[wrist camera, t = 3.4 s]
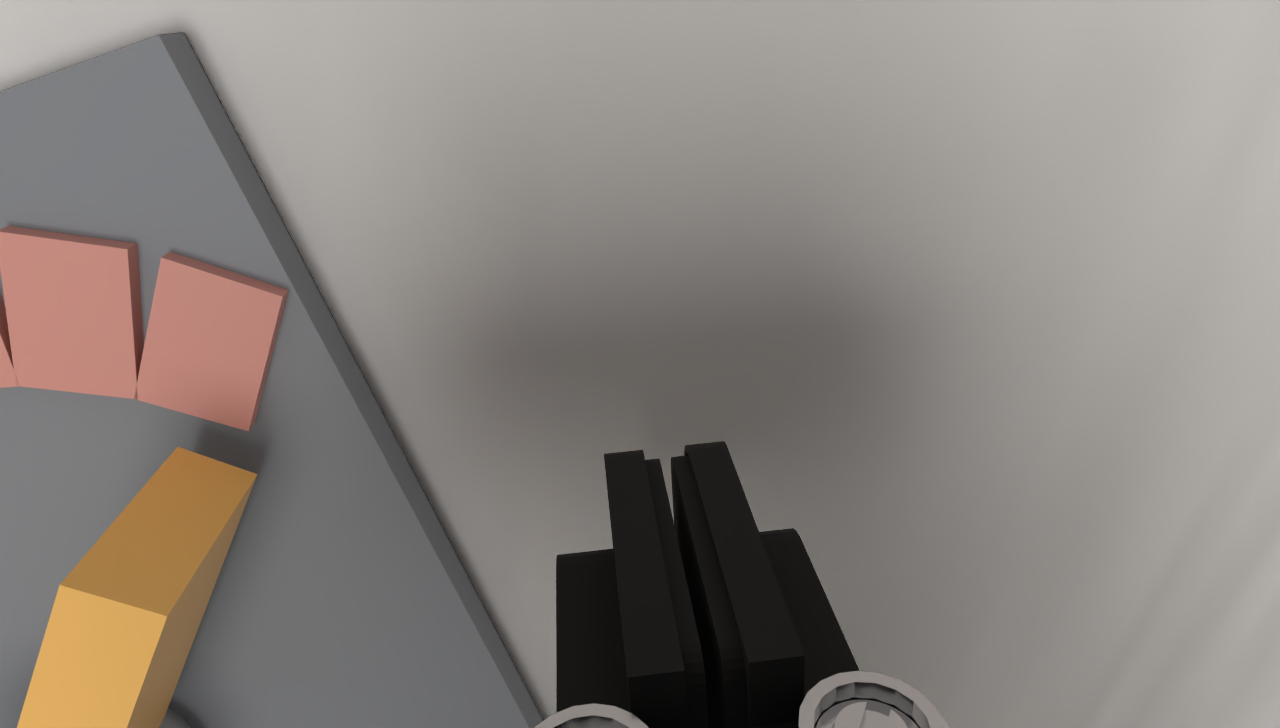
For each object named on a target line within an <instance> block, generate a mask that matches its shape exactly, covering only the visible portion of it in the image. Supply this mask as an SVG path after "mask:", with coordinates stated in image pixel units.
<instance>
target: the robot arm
mask: <svg viewBox="0 0 1280 728" xmlns="http://www.w3.org/2000/svg"><path fill="white" fill-rule="evenodd" d="M604 459H605V469H606V479H607V489H608V499H609V509H610V519H611V530H612V540H613V549H607V550H598V551H589V552H580V553H571V554H562V555H557V561H556V626H557V713H554V714H552V715H551V716H549V717H548V718H547V719H545V720H544V721H543V722H541V723H540V724H538V725H537V726H536V727H534V728H951V727H950V726H949V724H948V723H947V722H946V720H945V719H944V718H943V716H942V715H941V713H940V712H939V711H938V709H937V708H936V707H935V706H934V705H933V704H932V703H931V702H930V701H929V700H928V699H927V698H926V697H925V696H924V695H923V694H922V693H921V692H919V691H918V690H916V689H915V688H913V687H912V686H910V685H908V684H907V683H905V682H904V681H901V680H899V679H896V678H893V677H890V676H887V675H885V674H882V673H874V672H866V671H859V669H858V666H857V664H856V662H855V660H854V657H853V655H852V653H851V651H850V648H849V646H848V644H847V642H846V639H845V637H844V635H843V633H842V630H841V628H840V626H839V624H838V621H837V619H836V617H835V615H834V612H833V610H832V608H831V606H830V603H829V601H828V599H827V597H826V594H825V592H824V590H823V588H822V585H821V583H820V581H819V579H818V576H817V574H816V572H815V570H814V567H813V565H812V563H811V561H810V558H809V556H808V554H807V552H806V549H805V547H804V545H803V543H802V540H801V538H800V536H799V535H798V533H797V531H796V530H794V529H793V528H792V529H783V530H774V531H766V532H759V531H758V529H757V526H756V523H755V520H754V518H753V515H752V512H751V510H750V507H749V504H748V502H747V499H746V496H745V494H744V491H743V488H742V486H741V483H740V480H739V478H738V475H737V472H736V470H735V467H734V464H733V461H732V459H731V456H730V453H729V451H728V448H727V445H726V443H725V442H724V441H722V442H713V443H703V444H694V445H685V451H684V456H679V457H671V475H672V493H673V510H674V522H673V518H672V513H671V509H670V504H669V500H668V495H667V491H666V486H665V482H664V477H663V473H662V468H661V463H660V460H659V459H651V460H645V458H644V453H643V450H637V451H628V452H618V453H609V454H604Z"/></svg>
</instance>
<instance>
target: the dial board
mask: <svg viewBox="0 0 1280 728" xmlns="http://www.w3.org/2000/svg"><path fill="white" fill-rule="evenodd" d="M177 447H180V448H183V449H186V450H189V451H192V452H194V453H197V454H200V455H203V456H206V457H209V458H212V459H215V460H218V461H221V462H224V463H226V464H229V465H232V466H235V467H238V468H241V469H244V470H247V471H250V472H253V473H255V474H257V477H256V479H255V482H254V485H253V487H252V490H251V492H250V495H249V498H248V500H247V503H246V505H245V508H244V511H243V513H242V516H241V518H240V521H239V524H238V526H237V529H236V531H235V534H234V537H233V539H232V542H231V545H230V547H229V550H228V552H227V555H226V558H225V560H224V563H223V565H222V568H221V571H220V573H219V576H218V578H217V581H216V584H215V586H214V589H213V591H212V594H211V597H210V599H209V602H208V605H207V607H206V610H205V612H204V615H203V618H202V620H201V623H200V625H199V628H198V631H197V633H196V636H195V638H194V641H193V644H192V646H191V649H190V651H189V654H188V657H187V659H186V662H185V665H184V667H183V670H182V672H181V675H180V678H179V680H178V683H177V685H176V688H175V691H174V693H173V696H172V698H171V701H170V704H169V706H168V709H167V711H166V714H165V717H164V719H163V721H162V722H161V724H160V726H159V728H534V727H536V726H537V725H538V724H540V723H541V722H543V720H542V718H541V716H540V714H539V712H538V710H537V708H536V706H535V704H534V702H533V700H532V698H531V697H530V695H529V693H528V691H527V689H526V687H525V685H524V683H523V681H522V679H521V677H520V675H519V674H518V672H517V670H516V668H515V666H514V664H513V662H512V660H511V658H510V656H509V654H508V653H507V651H506V649H505V647H504V645H503V643H502V641H501V639H500V637H499V635H498V633H497V631H496V630H495V628H494V626H493V624H492V622H491V620H490V618H489V616H488V614H487V612H486V610H485V608H484V607H483V605H482V603H481V601H480V599H479V597H478V595H477V593H476V591H475V589H474V587H473V585H472V584H471V582H470V580H469V578H468V576H467V574H466V572H465V570H464V568H463V566H462V564H461V562H460V561H459V559H458V557H457V555H456V553H455V551H454V549H453V547H452V545H451V543H450V541H449V540H448V538H447V536H446V534H445V532H444V530H443V528H442V526H441V524H440V522H439V520H438V518H437V517H436V515H435V513H434V511H433V509H432V507H431V505H430V503H429V501H428V499H427V497H426V495H425V494H424V492H423V490H422V488H421V486H420V484H419V482H418V480H417V478H416V476H415V474H414V472H413V471H412V469H411V467H410V465H409V463H408V461H407V459H406V457H405V455H404V453H403V451H402V450H401V448H400V446H399V444H398V442H397V440H396V438H395V436H394V434H393V432H392V430H391V428H390V427H389V425H388V423H387V421H386V419H385V417H384V415H383V413H382V411H381V409H380V407H379V405H378V404H377V402H376V400H375V398H374V396H373V394H372V392H371V390H370V388H369V386H368V384H367V382H366V381H365V379H364V377H363V375H362V373H361V371H360V369H359V367H358V365H357V363H356V361H355V359H354V358H353V356H352V354H351V352H350V350H349V348H348V346H347V344H346V342H345V340H344V338H343V337H342V335H341V333H340V331H339V329H338V327H337V325H336V323H335V321H334V319H333V317H332V315H331V314H330V312H329V310H328V308H327V306H326V304H325V302H324V300H323V298H322V296H321V294H320V292H319V291H318V289H317V287H316V285H315V283H314V281H313V279H312V277H311V275H310V273H309V271H308V269H307V268H306V266H305V264H304V262H303V260H302V258H301V256H300V254H299V252H298V250H297V248H296V247H295V245H294V243H293V241H292V239H291V237H290V235H289V233H288V231H287V229H286V227H285V225H284V224H283V222H282V220H281V218H280V216H279V214H278V212H277V210H276V208H275V206H274V204H273V202H272V201H271V199H270V197H269V195H268V193H267V191H266V189H265V187H264V185H263V183H262V181H261V179H260V178H259V176H258V174H257V172H256V170H255V168H254V166H253V164H252V162H251V160H250V158H249V156H248V155H247V153H246V151H245V149H244V147H243V145H242V143H241V141H240V139H239V137H238V135H237V134H236V132H235V130H234V128H233V126H232V124H231V122H230V120H229V118H228V116H227V114H226V112H225V111H224V109H223V107H222V105H221V103H220V101H219V99H218V97H217V95H216V93H215V91H214V89H213V88H212V86H211V84H210V82H209V80H208V78H207V76H206V74H205V72H204V70H203V68H202V66H201V65H200V63H199V61H198V59H197V57H196V55H195V53H194V51H193V49H192V47H191V45H190V43H189V42H188V40H187V38H186V36H185V34H184V33H173V34H161V35H156V36H153V37H151V38H148V39H145V40H142V41H140V42H137V43H134V44H131V45H128V46H126V47H123V48H120V49H117V50H115V51H112V52H109V53H106V54H103V55H101V56H98V57H95V58H92V59H89V60H87V61H84V62H81V63H78V64H76V65H73V66H70V67H67V68H64V69H62V70H59V71H56V72H53V73H51V74H48V75H45V76H42V77H39V78H37V79H34V80H31V81H28V82H26V83H23V84H20V85H17V86H14V87H12V88H9V89H6V90H3V91H1V92H0V728H17V725H18V722H19V719H20V715H21V712H22V709H23V705H24V702H25V699H26V695H27V692H28V689H29V685H30V682H31V679H32V675H33V672H34V669H35V665H36V662H37V658H38V655H39V652H40V648H41V645H42V642H43V638H44V635H45V632H46V628H47V625H48V622H49V618H50V615H51V612H52V608H53V605H54V602H55V598H56V595H57V592H58V588H59V585H60V584H61V583H62V581H63V580H64V579H65V578H66V577H67V576H68V574H69V573H70V572H71V571H72V570H73V569H74V567H75V566H76V565H77V564H78V563H79V562H80V560H81V559H82V558H83V557H84V556H85V554H86V553H87V552H88V551H89V550H90V549H91V547H92V546H93V545H94V544H95V543H96V542H97V540H98V539H99V538H100V537H101V536H102V535H103V533H104V532H105V531H106V530H107V529H108V528H109V526H110V525H111V524H112V523H113V522H114V520H115V519H116V518H117V517H118V516H119V515H120V513H121V512H122V511H123V510H124V509H125V508H126V506H127V505H128V504H129V503H130V502H131V501H132V499H133V498H134V497H135V496H136V495H137V494H138V492H139V491H140V490H141V489H142V488H143V486H144V485H145V484H146V483H147V482H148V481H149V479H150V478H151V477H152V476H153V475H154V474H155V472H156V471H157V470H158V469H159V468H160V467H161V465H162V464H163V463H164V462H165V461H166V460H167V458H168V457H169V456H170V455H171V454H172V452H173V451H174V450H175V449H176V448H177Z"/></svg>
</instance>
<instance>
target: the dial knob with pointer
mask: <svg viewBox="0 0 1280 728" xmlns="http://www.w3.org/2000/svg"><path fill="white" fill-rule="evenodd" d="M256 477H257V474H255V473H253V472H250V471H247V470H244V469H241V468H238V467H235V466H232V465H229V464H226V463H224V462H221V461H218V460H215V459H212V458H209V457H206V456H203V455H200V454H197V453H194V452H192V451H189V450H186V449H183V448H180V447H177V448H176V449H175V450H174V451H173V452H172V454H171V455H170V456H169V457H168V458H167V460H166V461H165V462H164V463H163V464H162V465H161V467H160V468H159V469H158V470H157V471H156V472H155V474H154V475H153V476H152V477H151V478H150V479H149V481H148V482H147V483H146V484H145V485H144V486H143V488H142V489H141V490H140V491H139V492H138V494H137V495H136V496H135V497H134V498H133V499H132V501H131V502H130V503H129V504H128V505H127V506H126V508H125V509H124V510H123V511H122V512H121V513H120V515H119V516H118V517H117V518H116V519H115V520H114V522H113V523H112V524H111V525H110V526H109V528H108V529H107V530H106V531H105V532H104V533H103V535H102V536H101V537H100V538H99V539H98V540H97V542H96V543H95V544H94V545H93V546H92V547H91V549H90V550H89V551H88V552H87V553H86V554H85V556H84V557H83V558H82V559H81V560H80V562H79V563H78V564H77V565H76V566H75V567H74V569H73V570H72V571H71V572H70V573H69V574H68V576H67V577H66V578H65V579H64V580H63V581H62V583H61V584H60V585H59V588H58V592H57V595H56V598H55V602H54V605H53V608H52V612H51V615H50V618H49V622H48V625H47V628H46V632H45V635H44V638H43V642H42V645H41V648H40V652H39V655H38V658H37V662H36V665H35V669H34V672H33V675H32V679H31V682H30V685H29V689H28V692H27V695H26V699H25V702H24V705H23V709H22V712H21V715H20V719H19V722H18V725H17V728H159V726H160V724H161V722H162V721H163V719H164V717H165V714H166V711H167V709H168V706H169V704H170V701H171V698H172V696H173V693H174V691H175V688H176V685H177V683H178V680H179V678H180V675H181V672H182V670H183V667H184V665H185V662H186V659H187V657H188V654H189V651H190V649H191V646H192V644H193V641H194V638H195V636H196V633H197V631H198V628H199V625H200V623H201V620H202V618H203V615H204V612H205V610H206V607H207V605H208V602H209V599H210V597H211V594H212V591H213V589H214V586H215V584H216V581H217V578H218V576H219V573H220V571H221V568H222V565H223V563H224V560H225V558H226V555H227V552H228V550H229V547H230V545H231V542H232V539H233V537H234V534H235V531H236V529H237V526H238V524H239V521H240V518H241V516H242V513H243V511H244V508H245V505H246V503H247V500H248V498H249V495H250V492H251V490H252V487H253V485H254V482H255V479H256Z"/></svg>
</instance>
